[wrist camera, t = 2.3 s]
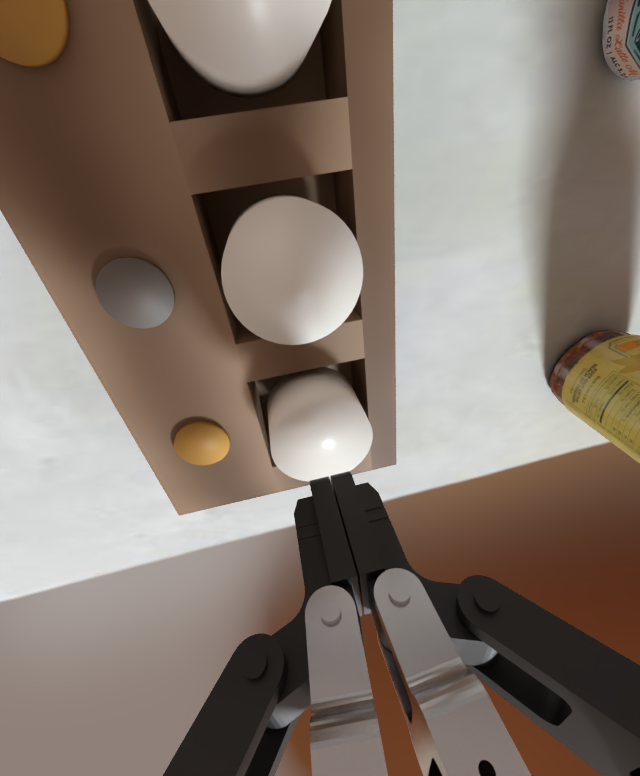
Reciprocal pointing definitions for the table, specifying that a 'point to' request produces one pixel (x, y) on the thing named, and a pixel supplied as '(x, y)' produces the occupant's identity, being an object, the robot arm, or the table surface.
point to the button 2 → (291, 270)
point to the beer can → (622, 38)
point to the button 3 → (316, 425)
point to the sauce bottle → (603, 386)
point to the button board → (195, 222)
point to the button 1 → (242, 40)
